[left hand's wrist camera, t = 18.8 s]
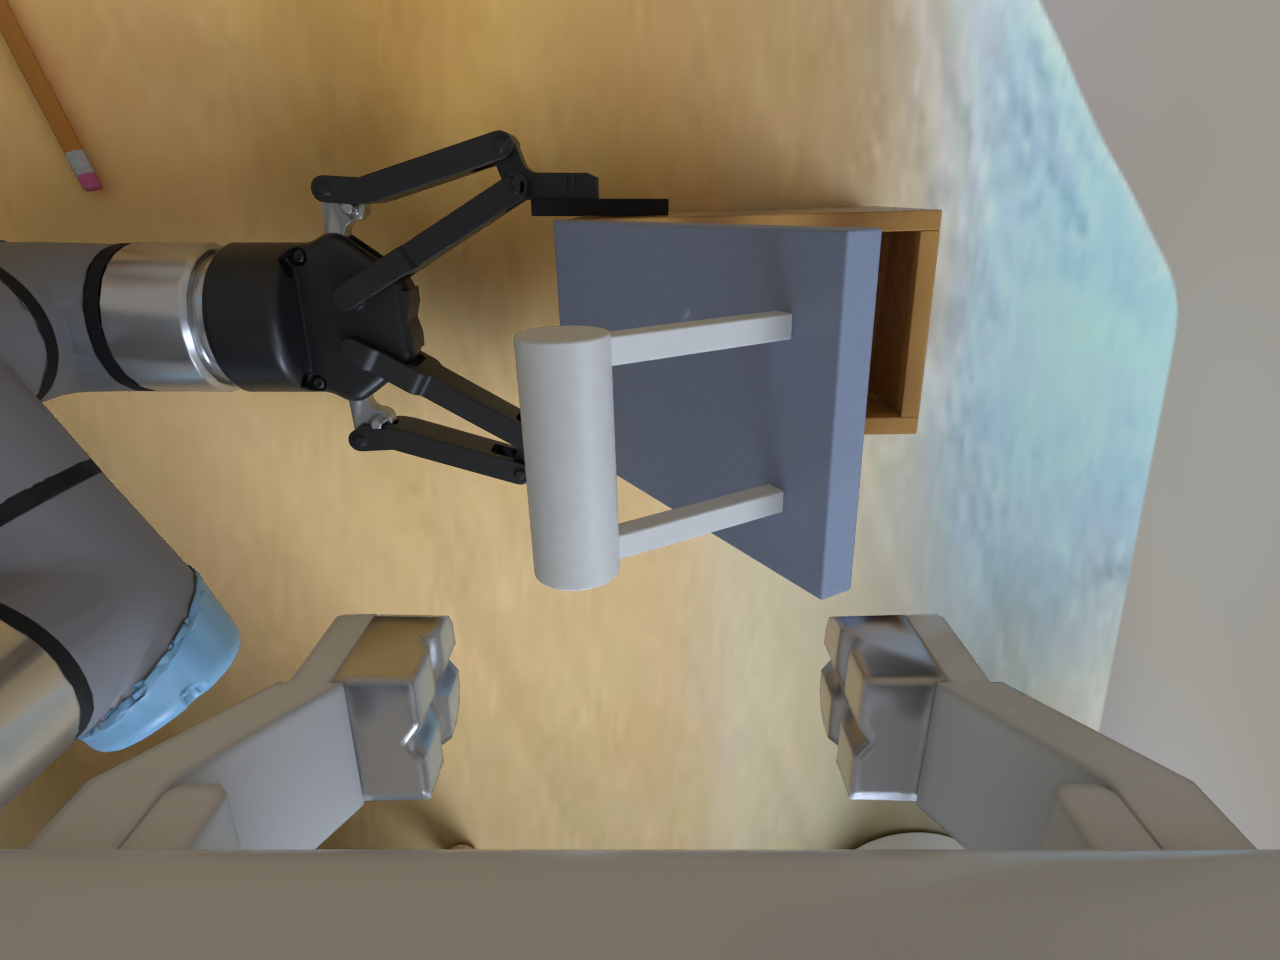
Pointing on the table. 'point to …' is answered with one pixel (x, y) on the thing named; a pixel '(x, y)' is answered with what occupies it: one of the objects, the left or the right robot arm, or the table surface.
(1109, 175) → the table surface
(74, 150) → the pencil
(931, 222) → the chest
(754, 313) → the lid
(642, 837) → the table surface
